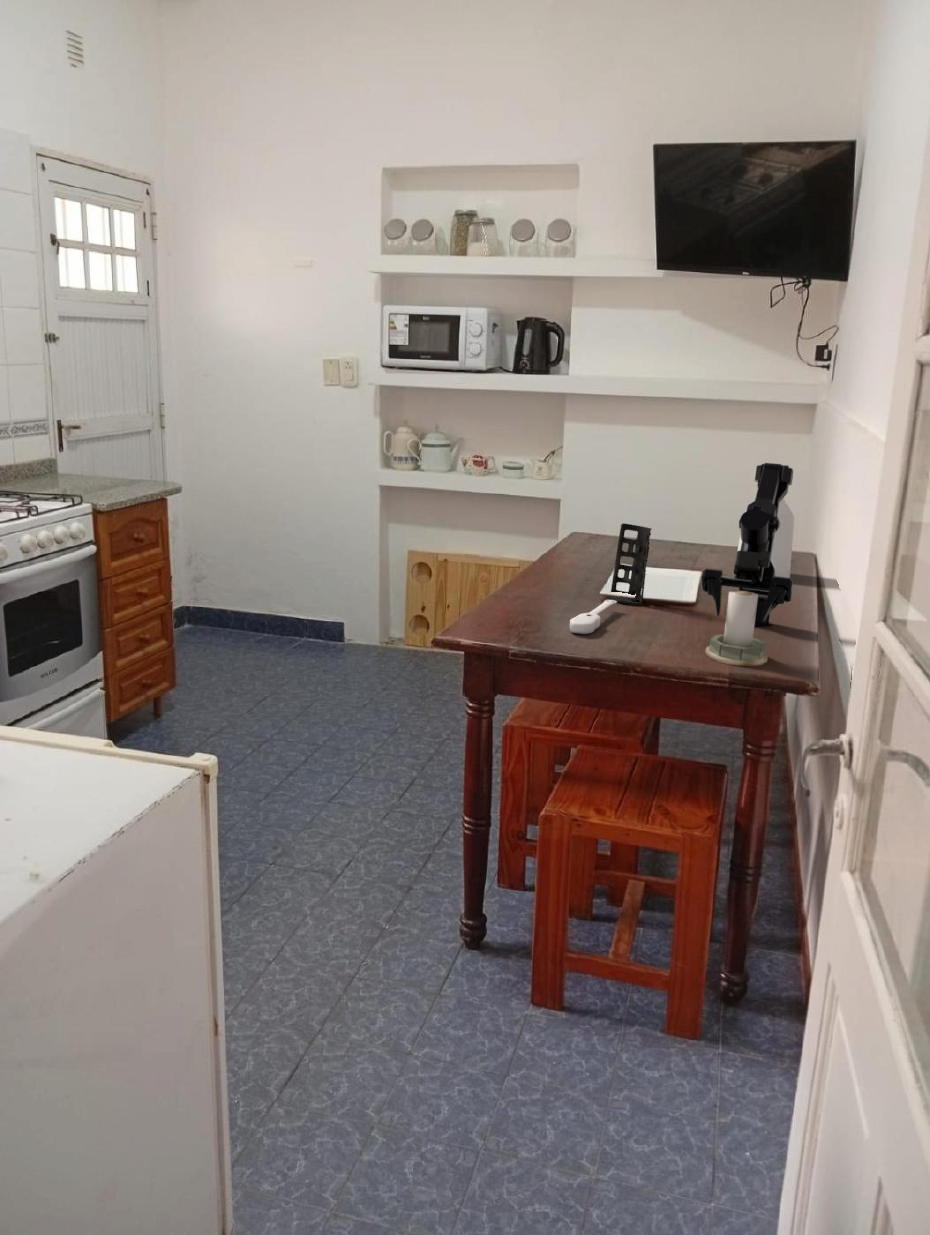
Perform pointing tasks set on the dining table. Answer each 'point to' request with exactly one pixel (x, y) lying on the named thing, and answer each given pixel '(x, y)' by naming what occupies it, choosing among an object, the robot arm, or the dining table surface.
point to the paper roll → (740, 618)
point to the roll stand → (736, 652)
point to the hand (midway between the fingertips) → (740, 617)
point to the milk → (782, 541)
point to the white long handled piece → (589, 619)
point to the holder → (638, 563)
